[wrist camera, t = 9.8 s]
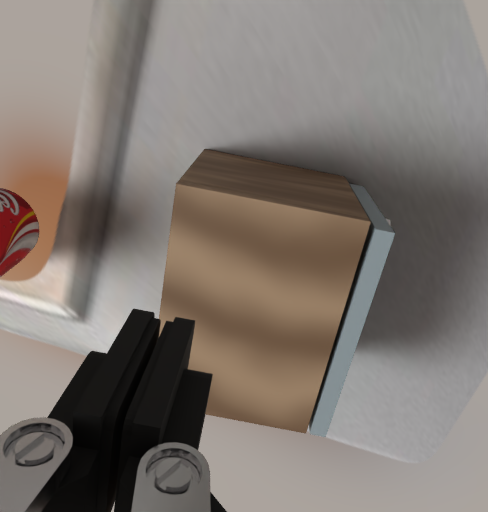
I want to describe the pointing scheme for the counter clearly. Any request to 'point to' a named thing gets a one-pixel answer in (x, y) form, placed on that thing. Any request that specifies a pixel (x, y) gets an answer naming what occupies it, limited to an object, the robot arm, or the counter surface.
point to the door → (353, 312)
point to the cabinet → (261, 281)
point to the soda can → (15, 229)
